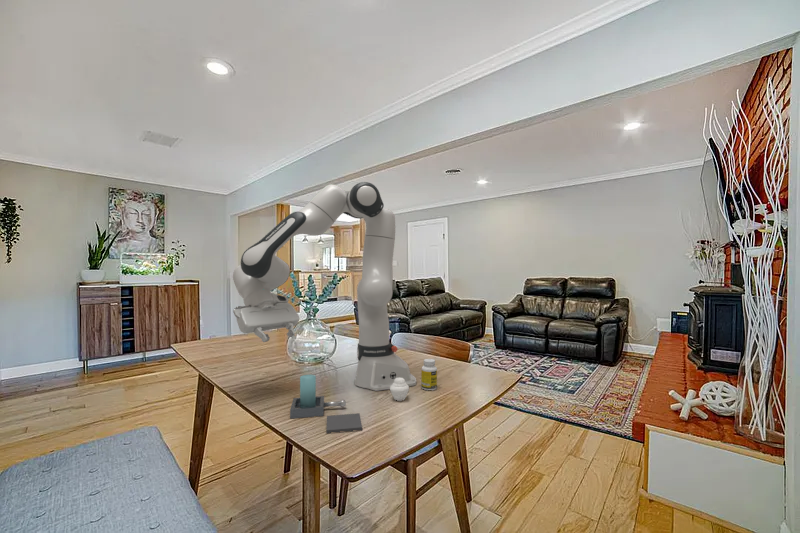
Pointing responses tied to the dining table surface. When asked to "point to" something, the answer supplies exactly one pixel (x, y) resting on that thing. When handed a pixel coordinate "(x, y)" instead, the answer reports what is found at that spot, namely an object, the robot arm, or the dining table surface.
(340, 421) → the rubber mat
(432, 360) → the supplement bottle
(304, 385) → the teal peg
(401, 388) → the muffin
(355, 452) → the dining table surface
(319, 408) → the socket
